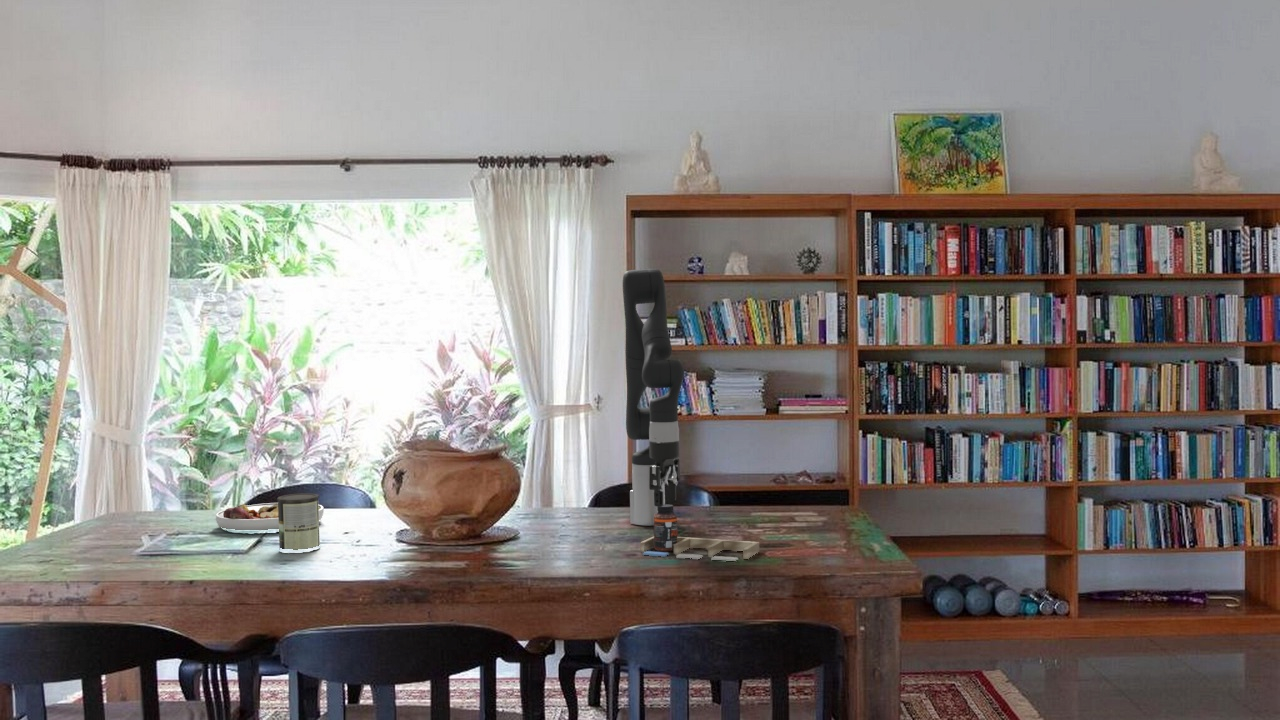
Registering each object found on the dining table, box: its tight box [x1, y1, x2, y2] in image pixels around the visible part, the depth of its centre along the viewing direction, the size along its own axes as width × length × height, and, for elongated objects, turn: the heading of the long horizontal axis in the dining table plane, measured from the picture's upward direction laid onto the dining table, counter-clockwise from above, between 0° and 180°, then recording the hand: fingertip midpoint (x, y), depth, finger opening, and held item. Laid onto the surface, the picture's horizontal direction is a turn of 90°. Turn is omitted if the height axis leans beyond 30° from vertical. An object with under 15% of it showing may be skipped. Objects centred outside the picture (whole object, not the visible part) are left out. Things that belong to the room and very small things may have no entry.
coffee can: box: [277, 492, 321, 550], centre depth 283 cm, size 10×10×14 cm
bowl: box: [215, 502, 325, 530], centre depth 319 cm, size 30×30×8 cm
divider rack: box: [639, 535, 760, 560], centre depth 270 cm, size 28×10×2 cm, turn 66°
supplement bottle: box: [653, 503, 679, 553], centre depth 273 cm, size 6×6×11 cm
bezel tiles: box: [642, 550, 739, 562], centre depth 263 cm, size 24×2×1 cm, turn 66°
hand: (665, 503), depth 273 cm, fingers open, 8 cm apart
